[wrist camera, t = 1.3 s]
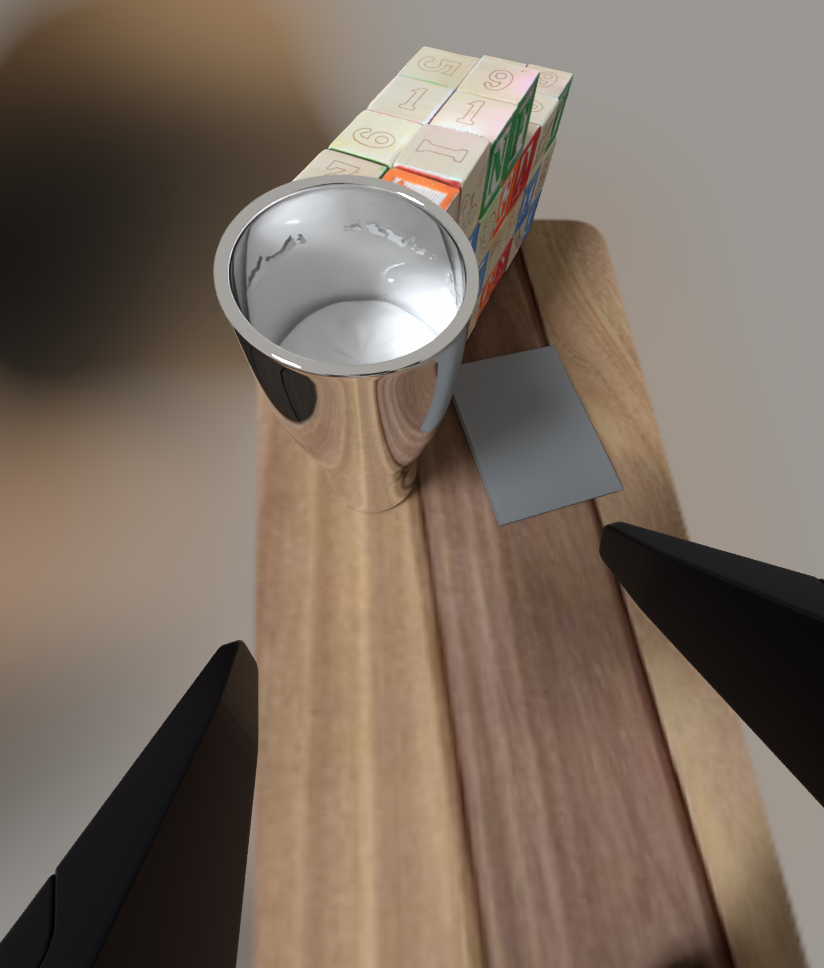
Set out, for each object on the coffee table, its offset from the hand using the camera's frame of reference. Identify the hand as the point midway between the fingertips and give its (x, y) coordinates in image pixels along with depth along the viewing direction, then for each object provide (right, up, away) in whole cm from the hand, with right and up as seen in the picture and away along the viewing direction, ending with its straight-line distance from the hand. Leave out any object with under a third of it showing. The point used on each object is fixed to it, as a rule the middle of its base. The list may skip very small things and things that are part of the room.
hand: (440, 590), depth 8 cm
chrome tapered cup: (-3, +4, +15) cm, 16 cm away
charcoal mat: (+8, +6, +16) cm, 19 cm away
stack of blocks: (+2, +17, +19) cm, 26 cm away
